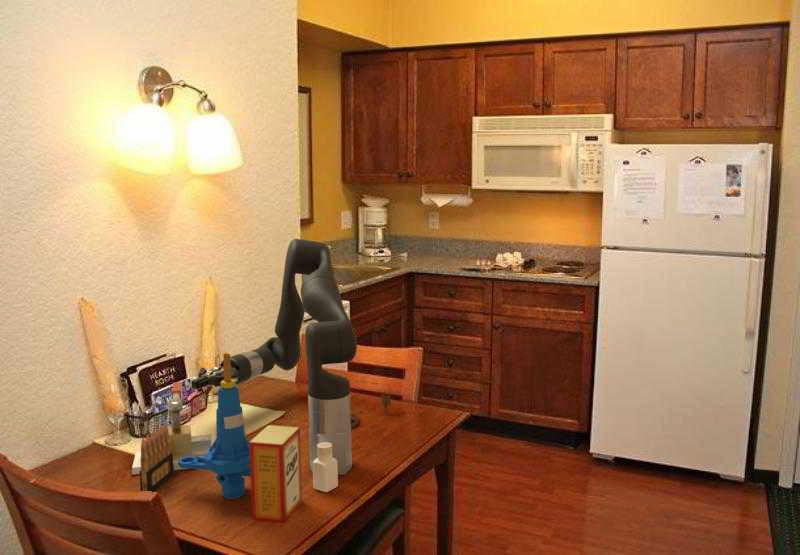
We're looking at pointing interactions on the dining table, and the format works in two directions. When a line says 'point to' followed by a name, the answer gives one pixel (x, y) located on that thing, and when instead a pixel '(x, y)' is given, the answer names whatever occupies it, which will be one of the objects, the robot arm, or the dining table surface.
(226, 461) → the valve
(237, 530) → the dining table surface
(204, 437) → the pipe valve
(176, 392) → the valve lever
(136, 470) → the mounting board
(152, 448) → the ammunition clip
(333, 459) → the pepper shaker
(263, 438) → the baking soda box
